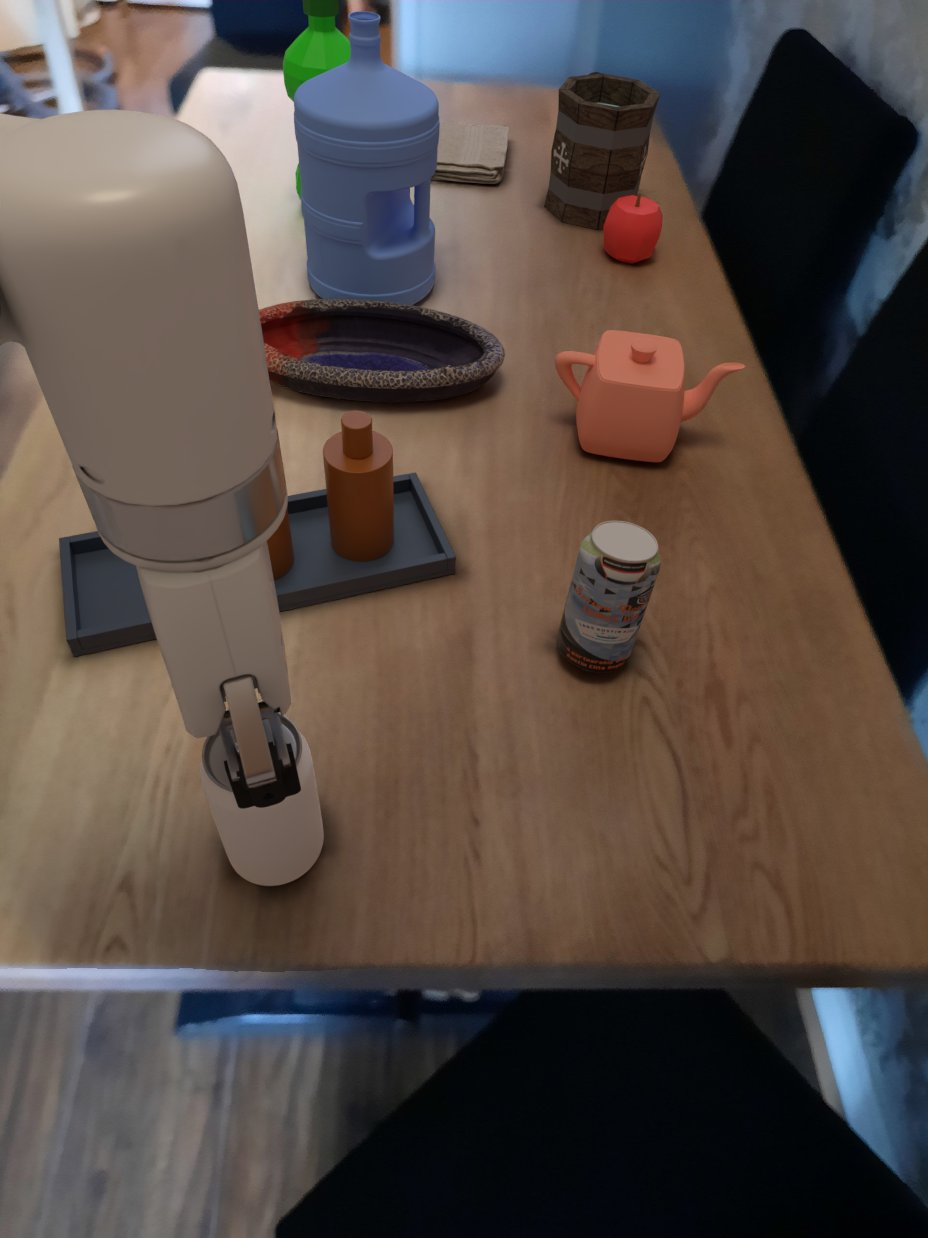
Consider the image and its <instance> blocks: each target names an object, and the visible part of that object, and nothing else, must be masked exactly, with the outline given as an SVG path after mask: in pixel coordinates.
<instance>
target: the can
mask: <svg viewBox="0 0 928 1238" xmlns="http://www.w3.org/2000/svg"><path fill="white" fill-rule="evenodd" d="M279 717H280V721H281V725H282V729H283V733H284V737H285V742H286V743H287V744H289V743H291V745H292V749H293V753H294V758H295V763H296V767H297V772H298V776H299V781H300V786H301V791H300V792H299V793H297V794H295V795H292V796H288V797H286V798H285V799H284V800H283V801H282V802H280V803H278V804H276V805H272V806H269V807H264V808H258V807H255V806H253V807H249V808H245V809H241V808H239V807H238V805H237V802H236V800H235V797H234V794H233V791H232V788H231V785H230V782H229V779H228V776H227V773H226V770H225V766H224V761H226V760H227V759H226V755H225V751H224V747H223V743H222V739H221V735H220V731H219V729H218V731H217V733H216V734H215V735H212V736H207V737H205V740H204V743H203V746H202V750H201V760H200V764H199V777H200V783H201V786H202V790H203V793H204V796H205V798H206V802H207V804H208V807H209V810H210V813H211V816H212V818H213V821H214V824H215V827H216V829H217V831H218V835H219V838H220V841H221V843H222V846H223V849H224V851H225V854H226V856H227V859H228V861H229V863H230V865H231V866H232V867H231V868H232V869H234V871H235V872H236V874H238V875H239V876H240V877H241V878H243V879H244V880H245V881H247V882H250V883H252V884H255V885H257V886H258V885H259V886H263V887H275V886H281V885H285V884H289V883H291V882H294V881H296V880H297V879H299V878H300V877H302V876H303V875H305V874H306V873H307V872H308V871H309V870H310V869H311V868H312V867H313V866H314V865H315V863H316V862H317V860H318V859H319V857H320V855H321V852H322V850H323V846H324V837H325V836H324V835H325V834H324V825H323V818H322V817H323V816H322V810H321V804H320V799H319V798H320V797H319V792H318V786H317V778H316V773H315V768H314V767H315V766H314V761H313V756H312V753H311V752H312V751H311V748H310V746H309V743H308V741H307V739H306V738H305V735H303V734H302V732H301V731H300V730H299V728H298V727H297V726H296V724H295V723H294V722H293V721H292V720H291V718H289V717H288V716H286V715H285V714H284V715H283V716H281V713H280V712H279ZM262 721H263V725H264V729H265V733H266V737H267V742H272V741H273V744H274V740H273V736H272V731H271V727H270V723H269V719H265V720H262ZM232 731H233V735H234V738H235V742H236V746H237V750H238V754H239V749H238V745H237V740H236V736H235V732H234V728H232ZM274 745H275V744H274Z"/></svg>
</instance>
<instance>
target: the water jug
mask: <svg viewBox="0 0 928 1238" xmlns="http://www.w3.org/2000/svg"><path fill="white" fill-rule="evenodd" d="M347 19H348V21H349V26H350V27H349V28H350V31H349V34H348V39H349V41H350V50H351V55H350V59H349V61H348V62H346V63H344V64H342V65H340V66H338V67H335V68H333V69H331V70H329V71H327V72H325V73H322V74H320V75H318V76H316V77H314V78H311V79H309V80H307V81H306V82H304V83H303V84H302V85H301V86H300V87H299V88H298V89H297V90H296V92H295V95H294V102H293V110H294V111H293V126H294V135H295V136H294V137H295V141H296V143H297V144H296V145H297V156H298V163H299V169H300V180H301V200H300V206H301V213H302V218H303V224H304V236H305V248H306V258H307V259H306V274H307V281H308V283H309V285H310V288H311V289H312V290H313V292H314V293H315V294H316V295H317V296H318V297H319V298H320V299H356V300H371V301H383V302H391V303H399V304H405V305H411V306H414V305H415V304H417V303H419V302H420V301H422V300H423V299H425V298H426V297H427V296H428V295H429V294H430V292H431V291H432V289H433V288H434V285H435V280H436V261H435V251H436V249H435V247H436V246H435V245H436V227H435V223H434V221H433V220H432V219H431V217H430V215H431V214H430V213H431V181H432V180H431V177H432V176H433V174H434V173H435V171H436V168H437V150H438V143H439V128H440V122H441V121H440V115H439V110H440V104H439V98H438V97H437V95H436V93H435V92H434V91H433V89H431V88H430V87H429V86H428V85H426V84H424V83H423V82H421V81H419V80H417V79H415V78H413V77H411V76H409V75H407V74H406V73H404V72H401V71H400V70H398V69H396V68H394V67H391V66H390V65H388V64H386V63H384V62H383V60H382V57H381V43H382V37H381V34H380V23H381V15H380V14H378V13H377V12H373V11H365V10H359V11H353V12H352V11H351V12H350V13H349V14H348V15H347ZM411 188H413V192H414V193H413V198H414V199H413V201H412V199H411Z"/></svg>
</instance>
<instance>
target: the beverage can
mask: <svg viewBox="0 0 928 1238" xmlns="http://www.w3.org/2000/svg"><path fill="white" fill-rule="evenodd" d="M578 549H579V550H578V553H577V557H576V561H575V565H574V569H573V573H572V577H571V581H570V584H569V589H568V592H567V596H566V600H565V604H564V607H563V608H564V609H563V611H562V616H561V619H560V622H559V627H558V631H557V634H556V646H557V649H558V651H559V653H560V654H561V656H562V657H563V658H564V659H565V660H566V661H567V662H568V663H570V664H571V665H573V666H575V667H576V668H577V669H580V670H583V671H586V672H590V673H597V674H604V673H605V674H606V673H607V674H608V673H611V672H612V673H613V672H616V671H617V670H620V669H622V668H623V667H624V666H625V665H626V664H627V663H628V662H629V659H630V657H631V655H632V651H633V648H634V645H635V643H636V640H637V637H638V635H639V631H640V628H641V625H642V622H643V620H644V617H645V614H646V610H647V608H648V605H649V603H650V599H651V596H652V593H653V590H654V587H655V584H656V582H657V578H658V577H659V573H660V569H661V566H662V562H661V555H660V553H659V543H658V540H657V538H656V537H655V536H654V535H653V534H652V533H651V532H650V531H649V530H647V529H646V528H644V527H643V526H640V525H638V524H635V523H632V522H629V521H625V520H606V521H603V522H600V523H599V524H597V525H596V526H595V527H594V528H593V529H592V531H591V532H590V533H589V534H588V535H586V536H585V537H584V538H583V540H582V541H581V544H580V546H579V548H578Z"/></svg>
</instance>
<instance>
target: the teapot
mask: <svg viewBox="0 0 928 1238" xmlns="http://www.w3.org/2000/svg"><path fill="white" fill-rule="evenodd" d="M684 359H685V358H684V352H683V349H682V345H681V343H680V342H679V341H678V340H677V339H676V338H673V337H668V336H662V335H657V334H656V335H655V334H649V333H642V332H634V331H627V330H618V329H617V330H616V329H608V330H605V331H604V332H603V334H602V335H601V337H600V338H599V340H598V343H597V345H596V347H595V350H594V351H593V353H588V352H582V351H577V350H576V351H575V350H564V351H561V352H559V353H558V354H556V357H555V359H554V365H555V370H556V373H557V375H558V376H559V378H560V380H561V382H562V384H563V385H564V386H565V387H566V389H567V390H568V391H569V392H570V394H571V395H572V396H573V397H574V398H575V400H576V407H575V421H576V422H575V423H576V429H577V436H578V437H577V438H578V441H579V445H580V447H581V449H582V450H583V451H585V452H586V453H589V454H593V455H597V456H598V455H599V456H605V457H610V458H616V459H623V460H629V461H630V460H631V461H637V462H638V461H639V462H648V463H661V462H663V461H664V460H666V458H667V457H668V456H669V455H670V453H671V452H672V450H673V449H674V447H675V444H676V442H677V439H678V435H679V431H680V427H681V423H684V422H687V421H690V420H691V419H693V418H694V417H696V416H697V415H699V414H700V413H701V412H703V410H704V408H706V406H707V404H708V403H709V401H710V400H711V397H712V395H714V392H715V390H716V388H717V387H718V385H719V384H720V383H721V382H722V381H723V379H724V378H727V376H729V375H730V374H733V373H736V372H737V371H741V370H743V369H744V368H746V365H745V364H743V363H740V362H723V363H720V364H717V365H716V366H714V367H713V368H712V369H710V370H709V371H708V373H707V374H706V375H705V376H704V378H703V379H702V380H701V382H700V383H698V385H697V386H695V387H693V388H692V389H691V388H690V389H687V390H686V389H685V384H686V381H685V379H686V377H685V376H686V374H685V373H686V372H685V360H684ZM572 365H583V366H587V368H586V370H585V372H584V376H583V379H582V382H581V385H579V383H578V381H577V380H576V377H575V375H574V372H573V368H572Z"/></svg>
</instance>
